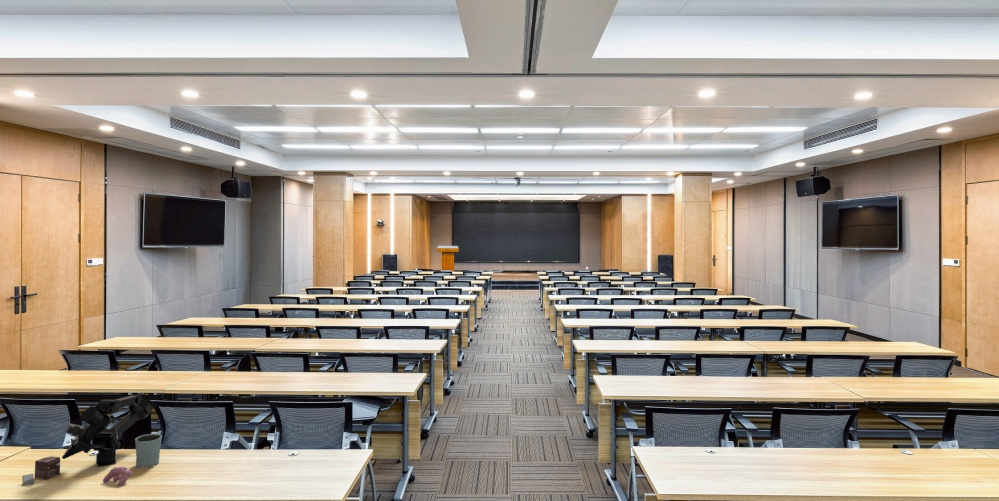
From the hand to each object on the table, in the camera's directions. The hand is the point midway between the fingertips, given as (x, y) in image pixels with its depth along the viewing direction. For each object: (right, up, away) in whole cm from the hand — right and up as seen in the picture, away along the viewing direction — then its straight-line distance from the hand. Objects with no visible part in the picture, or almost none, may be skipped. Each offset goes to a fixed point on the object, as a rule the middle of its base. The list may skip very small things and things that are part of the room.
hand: (62, 458), depth 233 cm
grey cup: (+28, -8, +13) cm, 32 cm away
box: (-4, -7, -3) cm, 8 cm away
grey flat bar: (-9, -6, -7) cm, 13 cm away
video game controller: (+28, -8, -7) cm, 30 cm away
